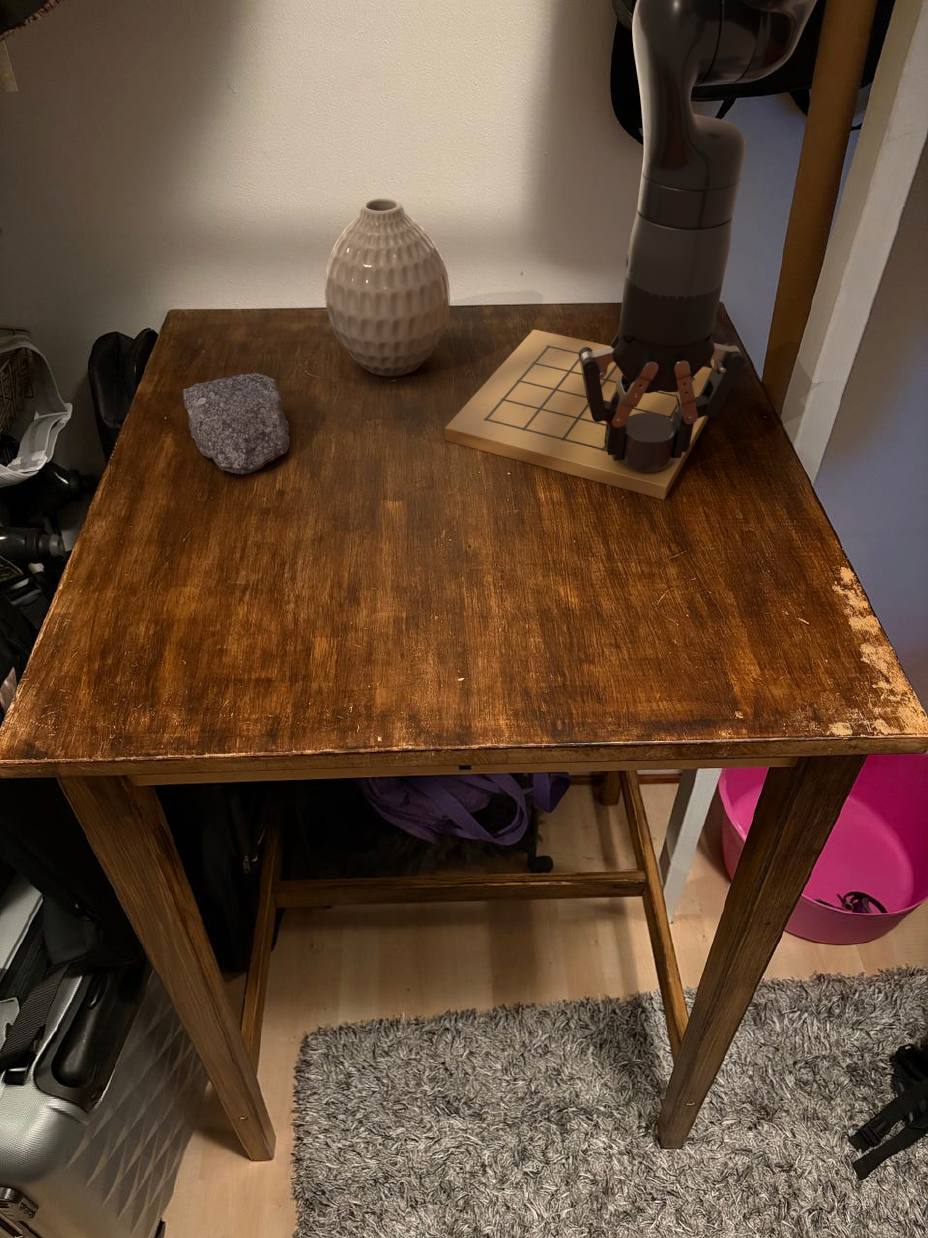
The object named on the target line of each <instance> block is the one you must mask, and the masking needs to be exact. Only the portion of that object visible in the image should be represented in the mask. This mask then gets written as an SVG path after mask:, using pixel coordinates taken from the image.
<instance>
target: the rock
mask: <svg viewBox="0 0 928 1238" xmlns="http://www.w3.org/2000/svg"><path fill="white" fill-rule="evenodd" d="M182 392H183V394H182V397H183V404H184V408H185V410H186V411H187V414H188V418H189V421H188V427H189V430H190V437H191V439H193V440H194V442H195V445H196V447H197V449H198V450H199V452H200V453H201V455H202V456H205V457H207V458H208V459H213V462H214V463H215V464H216V465H217V467H218V468H219V469H220V470H221V471H224V472H229V473H232V474H237V475H246V474H252V473H255V472H256V471H258V470H260V469H262V468H263V467H265V465H266V464H268V463H269V462H273V461H275V460H276V459H277V458H279V457H281V456H282V455H285V454H286V453H287V451H288V450H289V447H290V437H289V428H290V424H289V422H288V420H287V417H286V415H285V413H284V408H283V399H282V396H281V394H280V389H279V387H278V384H277V382H276V380H275V379H274V378H272V377H269V376H267V375H264V374H261V373H247V374H237V375H233V376H230V377H223V378H218V379H215V380H212V381H205V382H199V383H195V384H194V385H192V386H190V387H188V388H183V391H182Z"/></svg>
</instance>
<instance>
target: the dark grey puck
mask: <svg viewBox="0 0 928 1238" xmlns="http://www.w3.org/2000/svg"><path fill="white" fill-rule="evenodd" d="M625 424H626V427H627V429H626V436H625V443H624V450H623V457H622V461H620V462H621V463H622V464H623V465H624V466H626V467H627V468H629V469H632V470H635V471H639V472H657V471H660V470H663V469H665V468H666V467H667V466H668V465H669V464H670V462H671V458H672V453H673V447H674V442H675V436H676V431H677V429H676V426H675V424H674V423H673V422H672V421H671V420H670V419H668V418H666V417H664V416H662V415H658V414H654V413H638V414H634V415H631V416H629V417H628V419H627V421H626V423H625Z"/></svg>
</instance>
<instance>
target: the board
mask: <svg viewBox="0 0 928 1238" xmlns="http://www.w3.org/2000/svg"><path fill="white" fill-rule="evenodd" d="M584 347H589V348H591V349H592V351H596V350H600V349H604V348H607V347H611V345H608V344H603V343H598V342H594V341H588V340H584V339H579V338H576V337H571V336H565V335H562V334H557V333H552V332H547V331H543V330H539V329H538V330H537V329H533V330H531V332H530V333H529V334H528V335H527V336H526V337H525V338H524V339H523V340H522V342H521V343H519V345H518V346H517V347H516V348H515V349H514V351H513V352H512V353H510V355H509V356H508V357H507V358H506V359H505V361H504V362H503V363H502V364H501V365H500V366H499V367H498V368H497V370H495V371H494V372H493V374H491V376H490V377H489V378H488V379H487V381H485V382H484V384H483V385H482V386H481V387H480V388H479V389H478V390H477V392H476V393H475V394H473V396H472V397H471V398H470V399H469V400H468V401H467V403H466V404H465V405H464V406H463V407H462V408H461V409H459V411H458V413H457V414H455V416H454V417H453V418H452V419H451V420H450V421H449V422H448V424H447V425H446V426H444V441H446V442H449V443H453V444H456V445H460V446H464V447H467V448H471V449H475V450H479V451H482V452H486V453H490V454H493V455H497V456H499V457H500V456H501V457H505V458H507V459H512V460H515V461H519V462H523V463H528V464H531V465H533V466H537V467H542V468H546V469H548V470H553V471H556V472H561V473H564V474H567V475H570V476H574V477H579V478H582V479H585V480H590V481H593V482H596V483H599V484H604V485H607V486H608V485H609V486H612V487H616V488H620V489H623V490H626V491H630V492H633V493H638V494H641V495H645V496H649V497H653V498H656V499H659V500H663V501H664V500H665V499H666V498H667V496H668V494H669V492H670V490H671V489H672V486H673V485H674V483H675V481H676V479H677V478H678V476H679V474H680V472H681V470H682V468H683V466H684V465H685V462H686V461H687V459H688V457H689V455H690V454H691V451H692V449H693V448H694V446H695V444H696V442H697V440H698V438H699V437H700V435H701V433H702V431H703V429H704V427H705V425H706V424H707V422H708V420H709V418H710V417H708V416H707V415H706V416H703V417H701V418H699V419H697V421H696V422H695V423H694V426H693V431H692V436H691V441H690V446H689V448H688V450H687V451H686V452H682V456H681V458H671V462H670V464H669V465H668V466H667V467H666V468H665V469H663V470H660V471H657V472H639V471H635V470H632V469H629V468H627V467H626V466H624V465H623V464H622V463H621V462H620V461H613V458H612V455H608V452H607V449H606V446H605V443H604V439H605V431H606V422H605V421H601V422H596V421H594V420H593V418H592V415H591V412H590V409H589V406H588V402H587V397H586V392H585V386H584V381H583V376H582V370H581V365H580V360H579V351H580V350H581V349H582V348H584ZM712 368H713V367H712ZM712 368H711V367H708V366H703V367H702V368H701V369H700V370H699V371H698V373H697V374H696V375H695V376H694V377H693V378H692V379H691V380H692V385H693V390H694V395H695V397H698V396H699V395H700V393H701V391H702V388H703V386H704V384H705V382H706V380H707V378H708V376H709V374H710V372H711V370H712ZM621 373H622V372H621V371H620V369H619V368H618V366H617V365H616V363H615V362H612V363H610V364H609V366H608V368H607V374H606V375H605V376H604V378H600V382H601V388H602V394H603V399H604V400H606V401H610V399H611V397H612V395H613V393H614V392H615V389H616V383H617V380H618V378H619V377H620V375H621ZM677 411H678V405H677V401H676V396H675V392H663V391H656V392H652V393H644V394H643V396H642V398H641V400H640V402H639V404H638V405H637V407H634V408H633V409H632V411H631V413H630V415H629V416H631V415H634V414H638V413H654V414H658V415H662V416H664V417H666V418H668V419H670V420H671V421H672V420H673V414H674V412H677Z"/></svg>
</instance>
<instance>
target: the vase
mask: <svg viewBox="0 0 928 1238" xmlns="http://www.w3.org/2000/svg"><path fill="white" fill-rule="evenodd" d="M450 289H451V288H450V281H449V275H448V271H447V268H446V264H445V262H444V259H443V257H442V255H441V253H440V250H439V248H438V247H437V245H436V242H435V241H434V240H433V239H432V237H431V236H430V235H429V233H428V232H427V230H426V229H425V228H424V227H422V225H421V224H420V223H419V222H418V221H416V220H415V219H414V218H413V217H411V215H409V214H407V212H406V211H405V208H404V206H403V204H402V203H401V202H400V201H398V200H396V199H394V198H387V197H386V198H385V197H380V198H372V199H369V200H366V201H365V202H363V203H362V204H361V206H360V210H359V213H358V214H357V216H356V217H355V218H354V219H352V221H351V222H350V223H349V224H348V225H347V226H346V227H345V228H344V230H343V231H342V232H341V233H340V234H339V237H338V239H337V241H336V242H335V243H334V246H333V248H332V250H331V253H330V256H329V258H328V261H327V265H326V271H325V276H324V299H325V309H326V312H327V318H328V322H329V324H330V326H331V329H332V331H333V334H334V336H335V337H336V339H337V340H338V342H339V343H340V345H341V347H342V348H343V349H344V351H345V352H346V353H347V355H348V356H350V358H351V359H352V360H353V361H354V362H355V363H357V364H358V365H359V366H361V367H362V368H363V369H364V370H366V371H367V373H370V374H372V375H375V376H379V377H386V378H396V377H402V376H406V375H409V374H411V373H413V372H415V371H416V370H418V369H419V368H420V367H421V366H422V365H423V364H425V362H426V361H427V360H428V359H429V358H430V356H432V354H433V353H434V352H435V350H436V348H437V346H438V345H439V343H440V340H441V339H442V337H443V335H444V333H445V330H446V327H447V324H448V319H449V315H450V304H451V294H450V293H451V291H450Z"/></svg>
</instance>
